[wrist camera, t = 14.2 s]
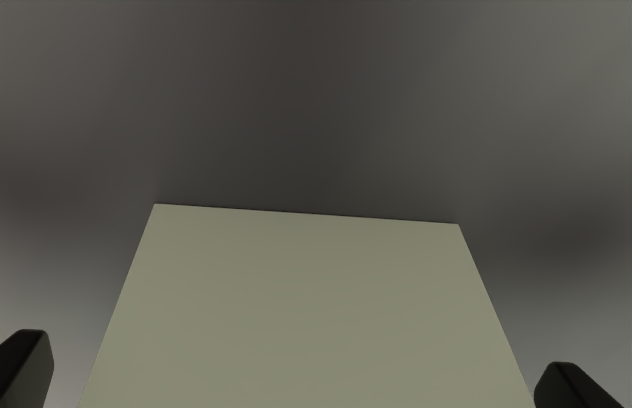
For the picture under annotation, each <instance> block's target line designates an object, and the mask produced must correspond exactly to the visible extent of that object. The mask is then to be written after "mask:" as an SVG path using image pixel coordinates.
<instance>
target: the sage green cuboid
mask: <svg viewBox="0 0 632 408" xmlns="http://www.w3.org/2000/svg"><path fill="white" fill-rule="evenodd" d="M77 408H536V407H535V405H534V402H533V400H532V397H531V395H530V393H529V390H528V388H527V386H526V383H525V381H524V379H523V376H522V374H521V371H520V369H519V367H518V364H517V362H516V360H515V357H514V355H513V353H512V350H511V348H510V346H509V343H508V341H507V338H506V336H505V334H504V331H503V329H502V327H501V324H500V322H499V320H498V317H497V315H496V312H495V310H494V308H493V305H492V303H491V301H490V298H489V296H488V294H487V291H486V289H485V286H484V284H483V282H482V279H481V277H480V275H479V272H478V270H477V268H476V265H475V263H474V260H473V258H472V256H471V253H470V251H469V249H468V246H467V244H466V242H465V239H464V237H463V235H462V232H461V230H460V227H459V225H458V224H450V223H435V222H420V221H406V220H391V219H376V218H361V217H346V216H331V215H317V214H302V213H287V212H272V211H257V210H243V209H228V208H213V207H198V206H183V205H169V204H154V206H153V209H152V212H151V214H150V217H149V220H148V222H147V225H146V227H145V230H144V233H143V235H142V238H141V241H140V243H139V246H138V249H137V251H136V254H135V257H134V259H133V262H132V264H131V267H130V270H129V272H128V275H127V278H126V280H125V283H124V286H123V288H122V291H121V294H120V296H119V299H118V301H117V304H116V307H115V309H114V312H113V315H112V317H111V320H110V323H109V325H108V328H107V330H106V333H105V336H104V338H103V341H102V344H101V346H100V349H99V352H98V354H97V357H96V360H95V362H94V365H93V367H92V370H91V373H90V375H89V378H88V381H87V383H86V386H85V389H84V391H83V394H82V397H81V399H80V402H79V404H78V407H77Z"/></svg>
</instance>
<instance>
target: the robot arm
mask: <svg viewBox="0 0 632 408" xmlns="http://www.w3.org/2000/svg"><path fill="white" fill-rule="evenodd" d="M53 371H54V359H53V355H52V350H51V346H50V341H49V337H48V334H47V333H46V332H45V331H44V330H34V329H21V330H19V331H17V332H15V333H14V334H13V335H11V336H10V337H9V338H8V339H6V340H5V341H4V342H3V343H1V344H0V408H43V405H44V402H45V399H46V395H47V392H48V389H49V385H50V382H51V379H52V375H53ZM534 403H535V407H536V408H624V407H623V406H622V405H621V404H619V403H618V402H617V401H616V400H615V399H614V398H613V397H612V396H611V395H609V394H608V393H607V392H606V391H605V390H604V389H603V388H602V387H601V386H599V385H598V384H597V383H596V382H595V381H594V380H593V379H592V378H591V377H589V376H588V375H587V374H586V373H585V372H584V371H583V370H582V369H581V368H580V367H578V366H577V365H575V364H574V363H570V362H556V361H555V362H551V363H550V364H549V365H548V366H547V368H546V370H545V371H544V373H543V375H542V377H541V378H540V380H539V382H538V383H537V385H536V387H535V390H534Z"/></svg>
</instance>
